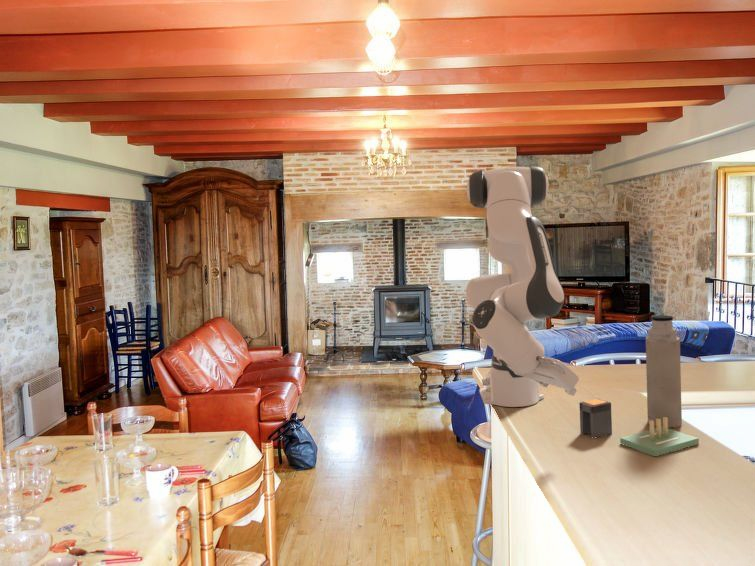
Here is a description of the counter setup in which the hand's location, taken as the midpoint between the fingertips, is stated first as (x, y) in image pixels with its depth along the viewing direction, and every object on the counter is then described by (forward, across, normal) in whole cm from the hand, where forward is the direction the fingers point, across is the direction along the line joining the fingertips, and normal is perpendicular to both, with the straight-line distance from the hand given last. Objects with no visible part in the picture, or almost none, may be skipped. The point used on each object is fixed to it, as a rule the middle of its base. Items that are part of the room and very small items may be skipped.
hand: (559, 388), depth 146 cm
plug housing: (+17, 0, +2) cm, 17 cm away
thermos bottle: (+31, -4, -12) cm, 34 cm away
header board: (+22, -13, -3) cm, 26 cm away
